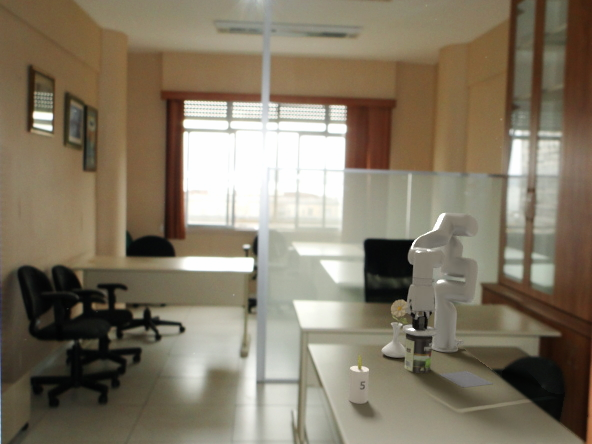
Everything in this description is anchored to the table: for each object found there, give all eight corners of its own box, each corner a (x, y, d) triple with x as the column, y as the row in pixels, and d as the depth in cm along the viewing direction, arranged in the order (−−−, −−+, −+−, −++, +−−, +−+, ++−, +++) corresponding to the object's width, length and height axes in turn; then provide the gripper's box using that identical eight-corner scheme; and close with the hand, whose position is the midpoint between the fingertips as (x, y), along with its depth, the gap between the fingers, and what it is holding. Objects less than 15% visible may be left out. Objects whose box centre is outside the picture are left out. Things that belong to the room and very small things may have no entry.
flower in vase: (376, 353, 228) (379, 296, 226) (397, 350, 233) (401, 294, 231) (393, 362, 216) (397, 302, 215) (416, 359, 221) (419, 301, 219)
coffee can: (434, 370, 208) (436, 335, 207) (423, 377, 200) (426, 341, 199) (410, 364, 214) (412, 330, 213) (399, 370, 206) (401, 335, 205)
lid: (423, 326, 215) (424, 311, 214) (443, 335, 203) (444, 319, 202) (396, 328, 210) (396, 313, 209) (415, 337, 198) (416, 321, 197)
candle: (352, 404, 171) (355, 359, 171) (345, 396, 178) (347, 353, 177) (370, 403, 173) (373, 358, 172) (363, 395, 179) (365, 352, 179)
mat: (467, 373, 207) (467, 371, 207) (493, 386, 194) (493, 383, 194) (438, 376, 201) (438, 374, 201) (462, 390, 188) (462, 387, 188)
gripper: (433, 279, 212) (431, 324, 213) (398, 280, 205) (396, 327, 206) (445, 283, 205) (442, 329, 206) (410, 284, 198) (407, 332, 200)
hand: (419, 327), depth 206 cm, fingers closed on lid, 3 cm apart
